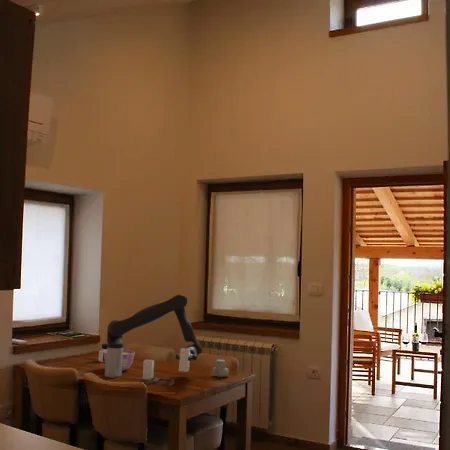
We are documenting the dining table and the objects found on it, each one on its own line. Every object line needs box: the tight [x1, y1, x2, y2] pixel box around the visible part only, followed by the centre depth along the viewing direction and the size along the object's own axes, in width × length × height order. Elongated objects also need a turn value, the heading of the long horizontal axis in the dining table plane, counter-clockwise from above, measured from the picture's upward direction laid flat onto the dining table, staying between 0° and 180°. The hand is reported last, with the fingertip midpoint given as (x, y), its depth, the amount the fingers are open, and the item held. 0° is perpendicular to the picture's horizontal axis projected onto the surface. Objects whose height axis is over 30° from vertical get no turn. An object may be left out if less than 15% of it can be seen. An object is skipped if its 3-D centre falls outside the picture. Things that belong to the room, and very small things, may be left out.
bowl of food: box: [103, 349, 136, 372], centre depth 350 cm, size 20×20×12 cm
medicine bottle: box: [98, 343, 108, 363], centre depth 378 cm, size 7×7×12 cm
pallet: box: [138, 376, 176, 386], centre depth 315 cm, size 20×11×3 cm, turn 84°
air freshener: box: [211, 359, 230, 378], centre depth 346 cm, size 11×8×10 cm
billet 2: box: [178, 347, 191, 373], centre depth 315 cm, size 5×5×12 cm
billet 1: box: [142, 359, 155, 381], centre depth 316 cm, size 5×5×12 cm
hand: (183, 358), depth 312 cm, fingers closed on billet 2, 5 cm apart
